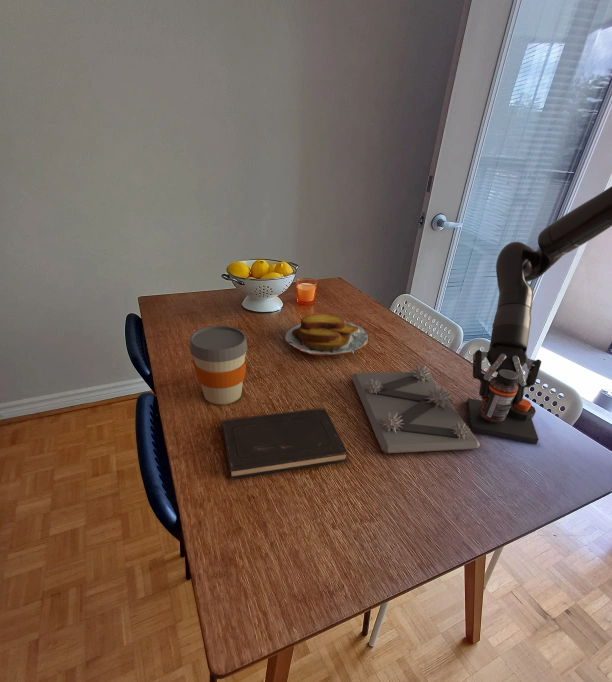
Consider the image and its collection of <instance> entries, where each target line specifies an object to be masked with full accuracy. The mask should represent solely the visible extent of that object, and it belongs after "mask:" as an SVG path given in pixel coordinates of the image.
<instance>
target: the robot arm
mask: <svg viewBox="0 0 612 682" xmlns="http://www.w3.org/2000/svg"><path fill="white" fill-rule="evenodd" d="M611 227H612V185H611V186H610V187H608V188H606V189H605V190H603V191H602V192H600V193H598V194H597V195H595V196H594V197H592V198H590V199H589V200H587V201H585V202H584V203H582V204H580V205H578V206H577V207H576V208H573V209H572V210H570V211H569V212H567V213H566V214H564V215H563V216H561V217H559V218H558V219H557V220H555V221H553V223H551V224H549V225H548V226H546V227H545V228H544V229H543V230H541V232H539V234H538V236H537V244H538V247H539V248H538V249H535V248H533V247H531V246H529V245H527V244H525V243H523V242H521V241H512V242H508V244H506V245H505V246H504V247H503V248H501V250H500V252H499V254H498V255H497V259H496V262H495V263H496V264H495V273H496V281H497V289H498V294H499V295H498V300H497V304H496V312H495V315H494V317H493V322H492V331H491V334H490V341H489V348H488V350H487V351H482V350H480V349H477V350H475V352H474V353H473V355H472V378H473V379H475V380H476V379H477V380H478V381H479V382H480V385H479V391H478V394H479V396H480V397H481V399H486V398H487V396H488V390H489V383H490V380H491V378H492V376H493V375H494V374H495V373H498V372H499V370H502V369H506V370H511V371H513V372H515V373H516V374H517V375H518V378H517V381H516V383H517V385H518V391H517V393H516V395H515V398H514V400H513V403H512V404H515V405H517V404H519V402H521V401H522V400H523V399H524V393H525V388H530V387H532V386H535V385H536V381H537V379H538V375H539V372H540V368H541V365H542V361H541V359H533V358H529V357H528V354H527V350H528V345H529V337H530V330H531V325H532V324H531V323H532V307H533V303H534V302H533V301H534V288H533V287H532V285H531V284H530V283H531V282H533V281H535V280H537V279H539V278H540V277H542V276H543V275H544V274H545V273H546V272H547V271H548V270H550V268H551V267H553V266H554V265H555V264H556V263H557V262H558V261H559V260H560V259H561V258H562V257H563V256H565V255H567V254H569V253H571V252H572V251H574V250H576V249H578V248H579V247H582V246H583V245H584V244H586V243H588V242H589V241H591V240H593V239H595V238H596V237H597V236H599V235H601V234H602V233H604V232H605V231H607V230H609V228H611ZM529 282H530V283H529ZM485 358H486V360H487V362H488V363H489V365H490V366H489V367H488V368H487V370H486V371H485V372H484V373H483V372H482V371H483V370H482V369H483V368H482V365H483V364H482V363H483V361H485ZM525 364H526V367H527V368H526V369H527V370H528V373H527V376H526V379H525V376H524V370H523V367H524V365H525Z"/></svg>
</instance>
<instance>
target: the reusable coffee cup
mask: <svg viewBox="0 0 612 682" xmlns="http://www.w3.org/2000/svg"><path fill="white" fill-rule="evenodd" d="M189 351H190V354H191V355H192V358H193V359H192V365H193V368H194V371H195V375H196V378H197V381H198V382H199V384H200V387H201V389H202V394H203V398H204V399H205V401H208V402H209V403H211V404H215V405H228V404H232V403H235V402H236V401H238V400H239V399H240V398H241V397H242V393H243V383H244V380H245V378H246V371H247V359H248V358H247V356H246V353H247V351H248V342H247V335H246V333H245V332H244V331H242V330H241V329H240V328H237V327H233V326H228V325H211V326H205V327H202V328H199V329H197V330H195V331H193V332H192V333H191V335H190V337H189Z"/></svg>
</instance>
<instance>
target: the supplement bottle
mask: <svg viewBox="0 0 612 682" xmlns="http://www.w3.org/2000/svg"><path fill="white" fill-rule="evenodd" d="M517 378H518V375H517V374H516V373H515V372H513V371H511V370H506V369H502V370H499V372H497V374H496V376H494V377H491V378H490V379H489V381H490V383H489V390H488V396H487V398H486V399H482V398H481V399H482V402H481V405H480V407H479V414H480V415H481V416H482V417H483V418H484V419H486V420H488V421H491V422H501V421H503V420H504V419H505V417H506V416H507V413H508V411H509V409H510V407H511V404H512V402H513V400H514V398H515V395H516V393H517V391H518V385H517V383H516V381H517Z"/></svg>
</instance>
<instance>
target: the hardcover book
mask: <svg viewBox="0 0 612 682" xmlns="http://www.w3.org/2000/svg"><path fill="white" fill-rule="evenodd" d="M220 421H221V429H222V436H223V441H224V442H223V443H224V449H225V453H226V461H227V466H228V472H229V478H230V480H233V479H235V480H236V479H241V478H249V477H254V476H260V475H266V474H267V475H268V474H273V473H279V472H280V473H281V472H287V471H292V470H293V471H294V470H299V469H305V468H306V469H307V468H313V467H318V466H325V465H332V464H338V463H339V464H340V463H344V462H348V460H347V458H346V457H347V455H349V452H348V450H347V448H346V446H345V445H344V443H343V440H342V439H341V436H340V435H339V433H338V431H337V429H336V427H335V425H334V423H333V421H332V419H331V418H330V416H329V413H328V412H327V410H326V408H325V407H318V408H317V407H316V408H310V409H309V408H308V409H301V410H300V409H299V410H293V411H285V412H276V413H268V414H267V413H266V414H259V415H251V416H242V417H234V418H226V419H221V420H220Z"/></svg>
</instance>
